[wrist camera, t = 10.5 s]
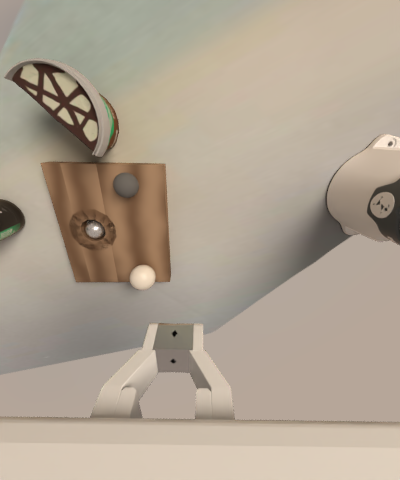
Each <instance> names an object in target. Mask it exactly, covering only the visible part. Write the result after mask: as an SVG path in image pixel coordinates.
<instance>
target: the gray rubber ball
mask: <svg viewBox="0 0 400 480" xmlns="http://www.w3.org/2000/svg"><path fill="white" fill-rule="evenodd" d="M113 188H114V190H115V192H116V193H117V194H118V195H120V196H121V197H124V198H130V197H133V196H134V195H136V193H137V192H138V190H139V183H138V180H137V179H136V177H135V176H133V175H132V174H130V173H120V174H118V175H117V176H116V177H115V178H114V181H113Z"/></svg>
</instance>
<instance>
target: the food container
mask: <svg viewBox="0 0 400 480" xmlns="http://www.w3.org/2000/svg"><path fill="white" fill-rule="evenodd" d="M4 78H6V79H8V80H11V81H13V82H15V83H16V84H17V85H18V86H19V87H21V88H22V89H23V90H24V91H26V92H27V93H28V94H29V95H30V96H31V97H32V98H33V99H34V100H36V101H37V102H38V103H39V104H40V105H41V106H42V107H43V108H44V109H45V110H46V111H47V112H48V113H49V114H50V115H51V116H53V117H54V118H55V119H56V120H57V121H58V122H60V123H61V124H62V125H63V126H64V127H66V128H67V129H68V130H69V131H70V132H72V133H73V134H74V135H75V136H76V137H77V138H78V139H80V140H81V141H82V142H83V143H84V144H85V145H86V146H88V147H89V148H90V149H91V150H92V151H93V153H92V155H95V156H98V157H102V156H103V155H104V153H105V151H106V150H107V149H109V148H112V147H113V146H114V145H115V143H116V141H117V137H118V133H119V125H118V119H117V116H116V113H115V111H114V109H113V107H112V106H111V104H110V103H109V102H108V101H107V99H105V98H104V97H103V96H102V95H101V94H99V93H98V92H97V90H96V89H95V87H94V86H93V85H92V84H91V83H90V82H89V80H88V79H87V78H85V77H84V76H83V75H82V74H81V73H80V72H78V71H77V70H75V69H74V68H72V67H70V66H68V65H66V64H64V63H61V62H58V61H54V60H48V59H40V58H36V59H28V60H25V61H22V62H19V63H17V64H16V65H14V66H13V67H11V68H10V69H9V70H8V71H7V73H6V74H5V76H4Z"/></svg>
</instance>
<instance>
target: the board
mask: <svg viewBox="0 0 400 480" xmlns="http://www.w3.org/2000/svg"><path fill="white" fill-rule="evenodd" d="M41 166H42V170H43V173H44V176H45V180H46V183H47V186H48V190H49V193H50V196H51V200H52V203H53V206H54V210H55V213H56V216H57V220H58V223H59V226H60V230H61V233H62V237H63V240H64V243H65V247H66V250H67V253H68V257H69V260H70V263H71V267H72V270H73V273H74V277H75V280H76V282H130V274H131V272H132V270H133V269H134V268H135V267H137V266H139V265H148V266H150V267H151V268H152V269H153V270H154V272H155V275H156V278H155V282H170V278H171V266H170V246H169V227H168V207H167V187H166V167H165V164H151V163H95V162H45V163H41ZM120 173H130V174H132V175H133V176H135V177H136V179H137V180H138V183H139V190H138V192H137V193H136V195H134V196H133V197H130V198H124V197H121V196H120V195H118V194H117V193H116V192H115V190H114V188H113V181H114V178H115V177H116V176H117V175H118V174H120ZM87 220H96V221H98V222H100V223H101V224H102V225H103V227H104V228H105V233H106V234H105V236H102V237H100V238H91V237H89V236H88V235H87V233H86V231H85V227H86V225H87Z"/></svg>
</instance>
